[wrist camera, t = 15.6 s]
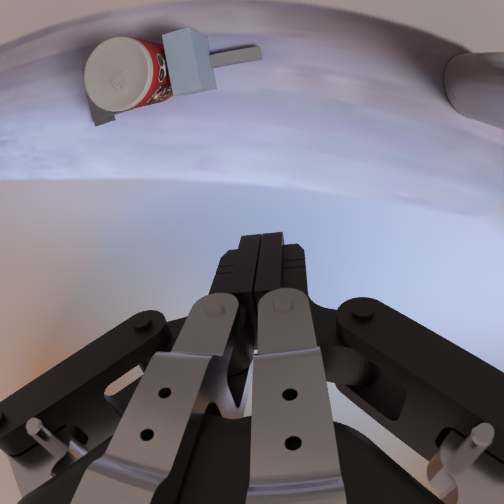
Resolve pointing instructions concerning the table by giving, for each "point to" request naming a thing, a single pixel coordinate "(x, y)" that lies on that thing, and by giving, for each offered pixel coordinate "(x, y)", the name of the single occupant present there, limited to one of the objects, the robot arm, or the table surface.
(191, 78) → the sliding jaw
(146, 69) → the canned food
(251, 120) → the table surface
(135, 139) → the table surface
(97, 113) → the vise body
